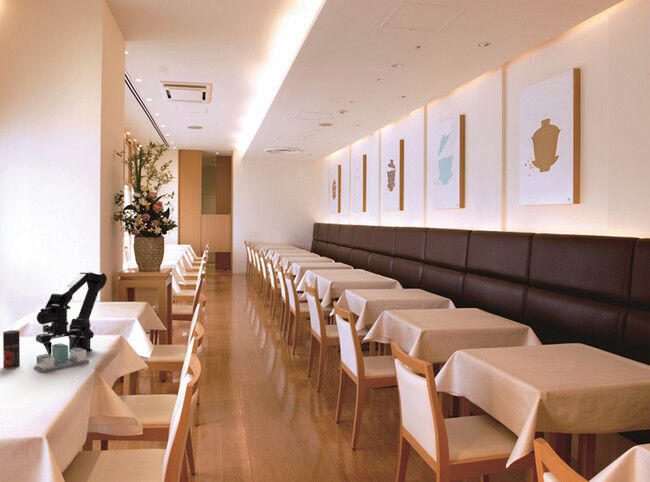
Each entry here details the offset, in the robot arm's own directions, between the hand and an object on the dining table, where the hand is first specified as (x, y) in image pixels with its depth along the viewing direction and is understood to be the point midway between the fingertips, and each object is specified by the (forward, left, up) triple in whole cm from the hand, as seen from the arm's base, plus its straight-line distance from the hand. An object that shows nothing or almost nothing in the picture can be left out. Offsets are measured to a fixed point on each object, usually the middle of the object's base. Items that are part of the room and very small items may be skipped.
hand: (60, 354), depth 228 cm
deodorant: (+19, -3, -2) cm, 19 cm away
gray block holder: (+5, +12, -2) cm, 13 cm away
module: (0, 0, -2) cm, 2 cm away
